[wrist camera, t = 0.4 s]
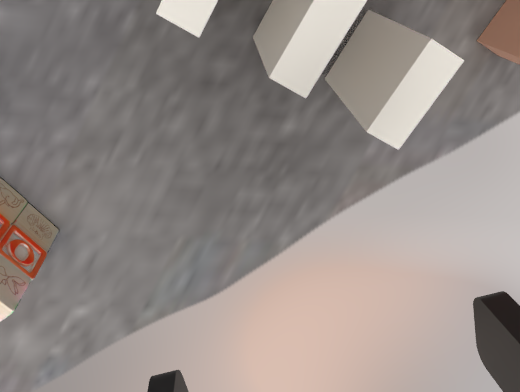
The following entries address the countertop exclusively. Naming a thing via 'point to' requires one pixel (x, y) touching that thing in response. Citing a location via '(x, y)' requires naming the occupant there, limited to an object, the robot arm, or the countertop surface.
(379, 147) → the countertop surface
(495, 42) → the terracotta domino
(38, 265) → the stack of blocks
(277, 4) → the ivory domino
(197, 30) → the ivory domino
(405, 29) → the ivory domino
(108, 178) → the countertop surface
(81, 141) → the countertop surface
